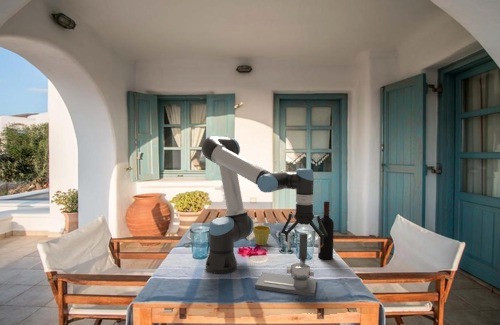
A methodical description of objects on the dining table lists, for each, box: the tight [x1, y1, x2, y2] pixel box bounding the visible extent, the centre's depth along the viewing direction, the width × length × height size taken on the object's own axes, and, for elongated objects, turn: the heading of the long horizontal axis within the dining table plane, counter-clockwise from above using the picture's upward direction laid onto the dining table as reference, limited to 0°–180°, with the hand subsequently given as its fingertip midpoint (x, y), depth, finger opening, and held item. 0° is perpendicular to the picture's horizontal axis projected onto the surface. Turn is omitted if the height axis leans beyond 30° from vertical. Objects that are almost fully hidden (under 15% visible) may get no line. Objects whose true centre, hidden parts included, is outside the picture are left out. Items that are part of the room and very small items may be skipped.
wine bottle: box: [317, 201, 335, 262], centre depth 156 cm, size 8×8×30 cm
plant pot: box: [252, 225, 271, 246], centre depth 180 cm, size 10×10×10 cm
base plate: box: [254, 271, 317, 297], centre depth 125 cm, size 24×13×6 cm, turn 74°
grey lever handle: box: [286, 232, 315, 281], centre depth 126 cm, size 18×11×14 cm, turn 165°
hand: (303, 250), depth 133 cm, fingers open, 13 cm apart
